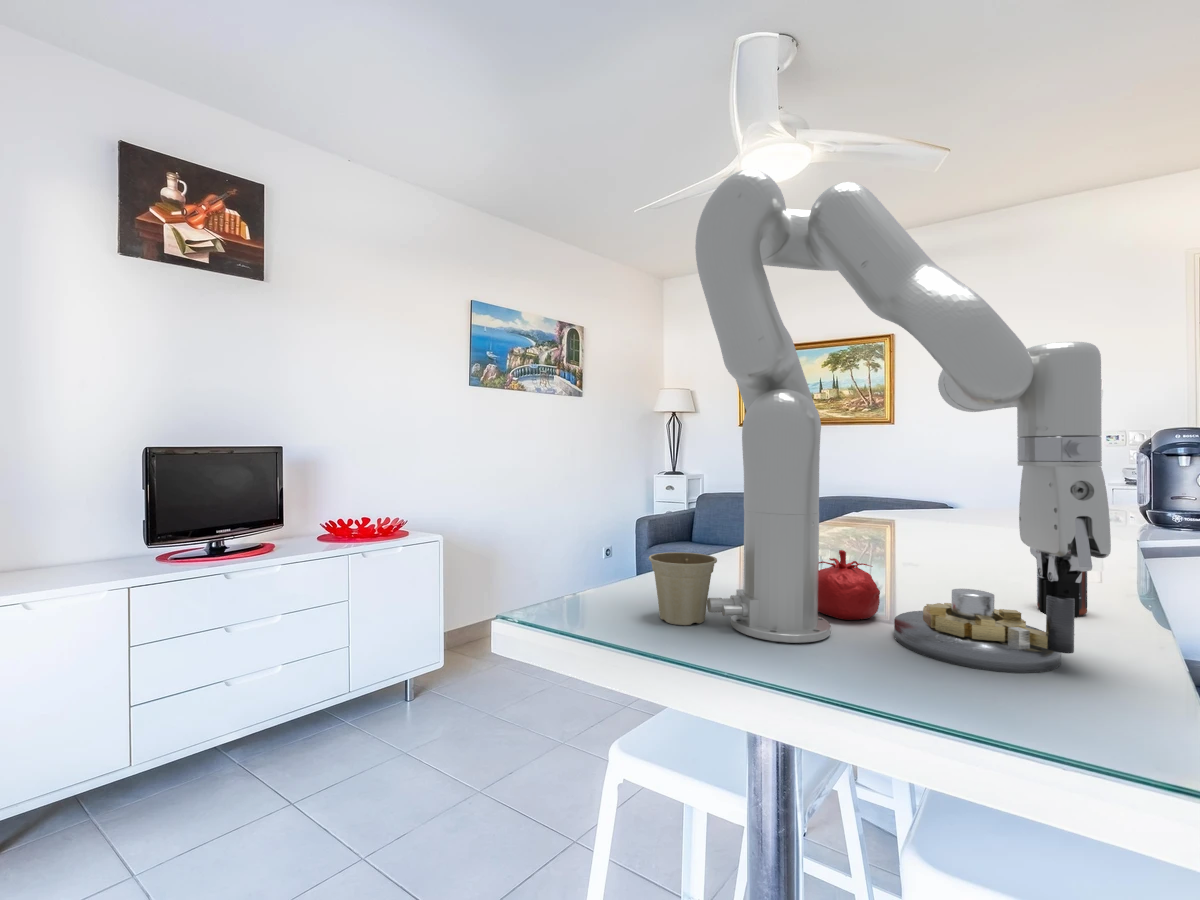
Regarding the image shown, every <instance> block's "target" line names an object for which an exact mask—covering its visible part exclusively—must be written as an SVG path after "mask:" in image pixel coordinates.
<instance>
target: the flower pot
mask: <svg viewBox="0 0 1200 900" xmlns="http://www.w3.org/2000/svg"><path fill="white" fill-rule="evenodd" d="M648 560H649V562H651V569H652V571H653V573H654V581H655V587H656V588H655V589H656V595H657V596H656V597H657V602H658V610H659V611H658V613H659V618H660V620H661V621H665V622H666V623H667V624H671V625H676V626H678V625H679V626H691V625H692V624H695V623H696V624H697V625H699V624H702V623H704V621H706V613H707V612H706V611H707V600H708V598H709V593H710V592H709V591H710V584H711V577H712V573H713V572H714V567H715V564H716V563H717V562H718V559H717V558H716V557H715V556H714V555H713V556H712V555H710V554H704V553H700V552H699V553H696V552H695V553H694V552H685V551H684V552H683V551H681V552H680V551H679V552H678V551H676V552H675V551H673V552H658V553H654V554H651V555H649V557H648Z"/></svg>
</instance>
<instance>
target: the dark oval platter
mask: <svg viewBox="0 0 1200 900" xmlns="http://www.w3.org/2000/svg"><path fill="white" fill-rule="evenodd" d="M951 603H952V608H951V616H955V617H959V618H963V619H967V620H973V621H975V615H983V616H990V617H991V618H993V619H994V609H995V594H994V593H992V592H989V591H988V592H987V591H984V590H981V589H980V590H979V589H972V588H953V589H951ZM893 627H894V628H893V636H895V637H894V639H895V638H896V639H895V640H896V641H898V644H900V645H901V644H902V645H901V646H903V647H904V646H905V648H906V649H909V650H910V651H912V652H915V653H917V654H919V655H923V656H924V657H928V658H931V659H934V660H938V661H941V662H944V663H948V664H952V665H957V666H961V667H967V668H971V669H977V670H978V669H979V670H984V671H993V672H1002V673H1015V674H1018V673H1019V674H1031V673H1033V674H1034V673H1043V672H1044V673H1045V672H1049V671H1053V670H1055V669H1057V668H1059V667H1060V666H1061V663H1062V653H1060V652H1055V651H1051V650H1049V649H1046V648H1042V647H1039V646H1035V645H1031V644H1030V631H1029V630H1026V629H1023V628H1020V627H1009V628H1008V640H1005V642H1004V641H992V640H980V639H972V638H970V637H969V636H968V637H960V636H957V635H953V634H949V633H946V632H942V631H938V630H935V628H931V627H930V626H929V625H928V624H927V623H926V622H925V621H924V620H923V610H916V611H915V610H914V611H913V610H912V611H906V612H903V613H900V614H898V615H896V616H895V617H894V624H893ZM1026 628H1031V629H1035V630H1039V631H1043V632H1045V631H1044V630H1041V629H1039V628H1036V627H1034V626H1031V625H1027V624H1026Z"/></svg>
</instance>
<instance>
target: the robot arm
mask: <svg viewBox="0 0 1200 900" xmlns="http://www.w3.org/2000/svg"><path fill="white" fill-rule="evenodd" d="M694 248H695V259H696V260H695V261H696V267H697V272H698V277H699V280H700V284H701V288H702V290H703V294H704V297H705V299H706V300H705V301H706V304H707V307H708V313H709V316H710V318H711V319H710V320H711V322H712V324H713V328H714V331H715V334H716V337H717V340H718V343H719V348H720V351H721V352H720V353H721V355H722V360H723V363H724V366H725V368H726V370H727V372H728V373H729V374H730V375H731V377H732V378H734V380H735V382H736V384H737V387H738V391H739V393H740V397H741V400H742V402H743V405H744V408H745V411H746V412H745V415H744V419H743V422H742V423H743V424H742V427H741V428H742V429H741V430H742V432H741V446H742V460H743V461H742V462H743V463H742V465H743V576H742V577H743V587H742V589H740V588H739V589H735V591H736V592H735V593H736V595H733V594H732V595H730V596H729V598H728V597H727V598H722V597H708V599H707V606H706V609H707V612H708V613H710V614H711V613H712V614H713V613H722V616H725V617H727V616H729V617H730V624H731V626H732V628H733V629H734V630H735V631H737V632H740V633H741V634H744V635H747V636H748V637H753V638H755V639H760V640H764V641H771V642H778V643H792V644H793V643H795V644H798V643H799V644H803V643H814V642H819V641H820V642H821V641H822V640H825V639H826V638H829V636H830V635H831V633H832V632H831V629H832V628H831V624H830V623H831V622H829V621H828V620H827V619H825V618H823V617H822V616H819V612H818V573H819V570H820V569H819V568H820V567H819V562H820V559H819V558H820V557H819V556H820V555H819V553H820V551H819V549H820V548H819V547H820V460H821V459H820V458H821V457H820V450H821V448H820V447H821V430H822V421H821V418H820V417H821V416H820V414H819V411H818V409H817V408H816V404H815V402H814V399H813V396H812V393H811V390H810V387H809V384H808V382H807V379H806V376H805V373H804V370H803V367H802V365H801V364H802V363H801V362H800V359H799V355H798V353H797V349H796V347H795V346H796V345H795V344H794V341H793V338H792V336H791V334H790V332H789V331H788V329H787V328H786V326H785V324H784V322H783V319H782V317H781V316H780V312H779V310H778V307H777V305H776V302H775V298H774V296H773V293H772V290H771V287H770V283H769V279H768V276H767V274H766V271H765V267H764V266H769V267H778V268H787V269H797V270H811V271H821V272H822V271H823V272H824V271H825V272H826V271H828V272H829V271H831V272H835V271H838V272H839V274H840V275H841V276H842V277H843V279H844V280H845V281H846V282H847V283H848V284H849V286H850V287H851V288H852V289H853V290H854V292H855V294H856V295H857V296H858V297H859V298H860V300H861V301H862V302H863V303H864V304H865V306H866V307H867V308H868V310H870V311H871V312H872V313H873V314H875V315H876V316H877V317H879V318H881V319H883V320H886V321H888V322H890V323H894V324H895V325H898V326H899V327H901V328H903V330H905V331H906V332H908V334H910V335H911V336H912V337H913V338H915V340H916V341H918V343H920V345H921V346H922V347H923V348H924V349H925V350H926V351H927V352H928V353H929V355H930V356H931V357H932V358H933V360H934V361H936V363H937V364H938V365H939V366H940V367H941V371H940V374H939V376H938V381H937V382H938V383H937V388H938V392H939V393H940V396H941V398H942V399H943V401H945V403H946V404H948V405H949V406H950V407H952V408H954V409H955V410H959V411H962V412H968V413H980V412H988V411H992V410H993V411H995V410H1001V409H1009V408H1010V409H1011V408H1017V411H1016V412H1017V413H1016V414H1017V415H1016V418H1017V420H1016V421H1017V422H1016V424H1017V425H1016V426H1017V427H1016V428H1017V429H1016V430H1017V431H1016V432H1017V433H1016V434H1017V438H1016V439H1017V443H1016V444H1017V461H1016V462H1017V463H1016V464H1017V466H1019V467H1020V466H1022V469H1021V470H1022V471H1021V479H1020V489H1019V490H1020V492H1019V504H1018V505H1019V507H1018V509H1019V510H1018V513H1019V515H1018V520H1019V521H1018V523H1019V526H1018V527H1019V536H1020V540H1021V542H1022V544H1024V545H1025V546H1027V547H1029V551H1030V554H1031V555H1032V556H1033V557H1034V558H1035V560H1036V574H1037V573H1038V576H1039V577H1044V578H1039V607H1038V610H1039V612H1041V613H1042V614H1045V615H1046V597H1047V595H1050V594H1053V595H1063V596H1068V597H1072V598H1074V599H1075V611H1074V619H1077V618H1079V583H1080V582H1081V579H1082V571H1087V572H1090V571H1092V570H1093V562H1092V557H1093V558H1097V559H1105V558H1107V557H1109V556H1110V555H1111V549H1112V540H1111V536H1112V535H1111V523H1110V522H1111V521H1110V508H1109V500H1108V499H1109V497H1108V492H1107V486H1106V485H1107V484H1106V480H1105V475H1104V473H1103V472H1104V471H1103V468H1102V465H1103V463H1102V460H1103V459H1102V448H1103V447H1102V445H1103V444H1102V356H1101V355H1102V354H1101V351H1100V350H1099V349H1100V348H1099V347H1098V346H1096V345H1095V344H1093V343H1090V342H1087V341H1060V342H1051V343H1044V344H1038V345H1033V346H1031V347H1026V345H1025V344H1024V343H1023V341H1022V340H1021V339H1020V338H1019V336H1018V335H1017V334H1016V333H1015V331H1013V330H1012V329H1011V327H1009V325H1008V324H1007V323H1006V321H1004V319H1003V318H1002V317H1001V316H1000V315H999V314H998V313H997V311H995V310H994V308H992V306H991V305H990V304H989V303H988V302H987V301H986V300H985V299H983V297H982V296H980V295H979V294H978V293H977V292H976V291H974V289H972V288H970V287H969V286H967V285H966V284H965V283H963V282H962V281H960V280H959V279H958V278H957V277H955V276H953V275H952V274H951V273H950V272H948V271H947V270H945V269H944V268H942V267H941V266H939V265H938V264H937V263H935V262H934V261H933V259H931V257H930V256H928V254H927V253H926V252H925V251H924V250H923V249H922V247H921V246H920V245H919V243H917V242H916V241H915V240H914V239H913V238H912V236H911V235H910V233H908V232H907V231H906V229H905V228H904V227H903V226H902V225H901V224H900V223H899V222H898V221H897V219H896V218H895V217H894V216H893V215H892V213H891V212H890V211H889V210H888V209H887V208H886V207H885V205H884V204H883V203H882V202H881V200H879V199H878V198H877V196H875V194H874V193H873V192H872V191H871V190H870V189H869V188H867V187H865V186H863V185H862V184H859V183H858V182H854V181H843V182H840V183H837V184H834V185H832V186H830V187H828V188H827V189H826V190H824V191H823V192H822V193H821V194H820V195H819V196H818V197H817V198H816V199H815V201H814V203H813V204H812V206H811V209H810V210H809V209H800V208H799V209H798V208H797V209H796V208H787V206H786V201H785V197H784V194H783V193H782V190H781V188H780V187H779V185H778V183H776V181H775V180H774V179H773V178H772V177H770V175H768V174H766V173H765V172H763V171H760V170H759V169H758V170H757V169H743V170H739V171H736V172H735V173H733V174H731V175H730V176H728V177H727V178H726V179H724V180H723V181H722V182H721V183H720V184H719V185H718V186H717V187H716V188H715V190H714V191H713V192H712V194H711V195H710V197H708V200H707V202H706V204H705V206H704V208H703V209H702V212H701V214H700V217H699V220H698V225H697V228H696V233H695V247H694ZM1069 551H1071V553H1068V552H1069Z"/></svg>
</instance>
